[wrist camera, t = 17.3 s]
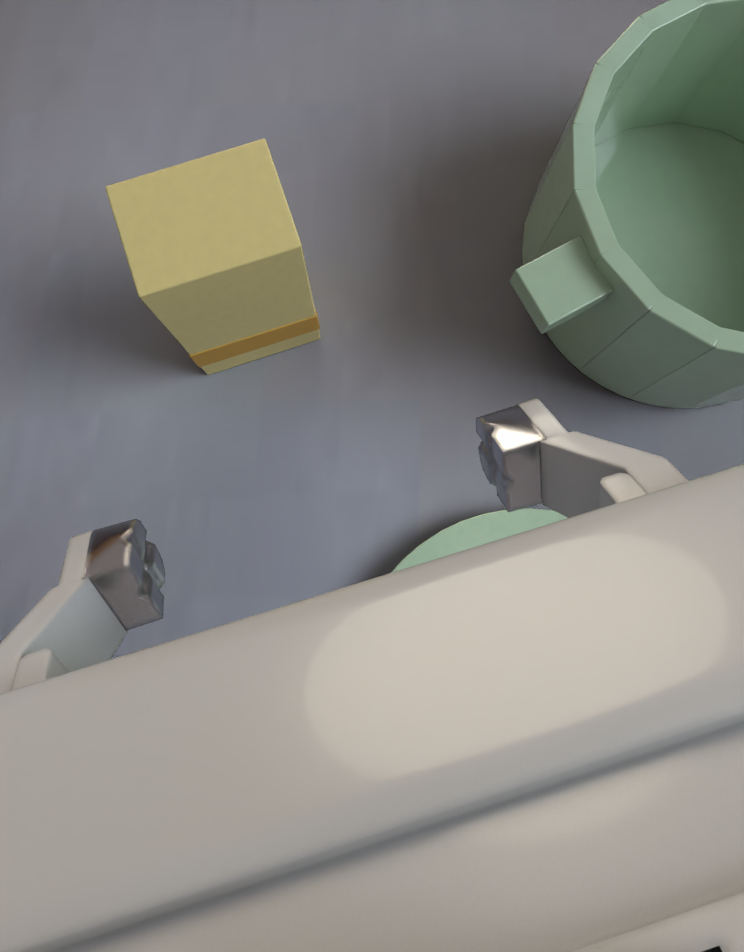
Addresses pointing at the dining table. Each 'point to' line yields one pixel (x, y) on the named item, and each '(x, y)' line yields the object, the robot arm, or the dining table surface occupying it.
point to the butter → (218, 256)
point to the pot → (649, 214)
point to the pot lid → (478, 533)
